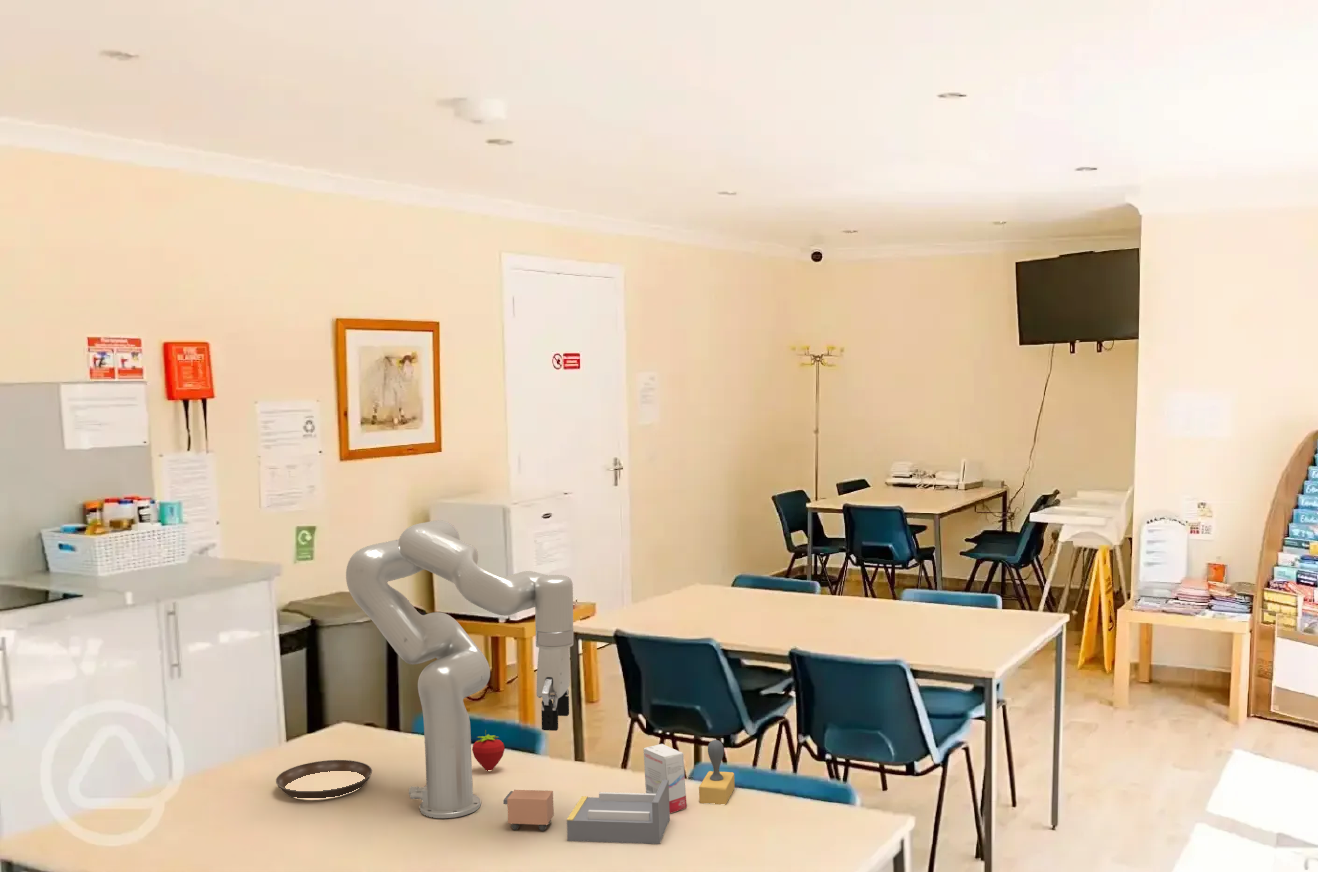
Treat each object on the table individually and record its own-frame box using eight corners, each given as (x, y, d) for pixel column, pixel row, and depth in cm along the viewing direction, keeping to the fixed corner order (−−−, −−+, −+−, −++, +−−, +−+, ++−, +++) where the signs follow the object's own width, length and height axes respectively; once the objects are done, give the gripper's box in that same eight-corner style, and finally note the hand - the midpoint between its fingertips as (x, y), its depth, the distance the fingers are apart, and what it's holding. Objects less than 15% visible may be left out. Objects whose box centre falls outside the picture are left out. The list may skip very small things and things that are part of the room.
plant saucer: (392, 782, 256) (391, 767, 256) (319, 811, 238) (319, 796, 238) (329, 768, 267) (329, 754, 267) (256, 795, 250) (255, 780, 250)
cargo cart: (504, 831, 224) (503, 798, 224) (511, 821, 229) (510, 789, 229) (547, 832, 223) (546, 799, 222) (554, 822, 228) (552, 791, 227)
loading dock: (567, 841, 218) (566, 800, 218) (582, 816, 230) (581, 777, 230) (659, 844, 215) (658, 802, 215) (669, 819, 227) (668, 780, 227)
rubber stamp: (708, 787, 246) (707, 732, 245) (734, 788, 244) (733, 733, 244) (699, 803, 236) (697, 747, 236) (726, 805, 235) (724, 748, 234)
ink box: (687, 809, 233) (686, 752, 232) (667, 815, 230) (665, 757, 229) (664, 797, 240) (662, 742, 240) (644, 803, 237) (642, 747, 237)
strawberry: (501, 776, 257) (500, 733, 256) (469, 776, 257) (467, 732, 257) (508, 768, 262) (507, 725, 262) (477, 767, 263) (475, 725, 263)
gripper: (546, 628, 234) (547, 709, 235) (525, 647, 217) (526, 735, 218) (581, 629, 233) (582, 711, 234) (563, 648, 216) (564, 736, 217)
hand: (555, 722), depth 226 cm, fingers open, 9 cm apart
